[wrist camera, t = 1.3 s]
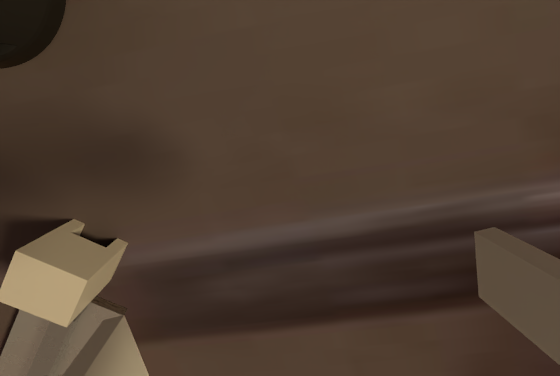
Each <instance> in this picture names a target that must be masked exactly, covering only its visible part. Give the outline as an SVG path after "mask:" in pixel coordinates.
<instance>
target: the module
mask: <svg viewBox="0 0 560 376" xmlns="http://www.w3.org/2000/svg"><path fill="white" fill-rule="evenodd" d="M84 225H85V224H84V223H82V222H80V221H77V220H75V219H73V220H71V221H69V222H67V223H65V224H64V225H62V226H60V227H58V228H56V229H54V230H53V231H51V232H49V233H47V234H45V235H43V236H41V237H40V238H38V239H36V240H34V241H32V242H30V243H29V244H27V245H25V246H23V247H21V248H19V249H17V250H16V251H15V253H14V256H13V258H12V261H11V263H10V266H9V268H8V271H7V273H6V276H5V279H4V281H3V284H2V286H1V289H0V302H2V303H5V304H7V305H10V306H12V307H15V308H18V309H20V310H23V311H25V312H28V313H30V314H33V315H36V316H38V317H41V318H43V319H46V320H48V321H51V322H54V323H56V324H59V325H61V326H64V327H66V328H67V327H68V325H69V324H70V323H71V322H72V321H73V320H74V319H75V318H76V317H77V316H78V315H79V314H80V313H81V311H82V310H83V309H84V308H85V307H86V306H87V305H88V304H89V303H90V302H91V301H92V300H93V299H94V298H95V296H96V295H97V294H98V293H99V292H100V291H101V290H102V289H103V288H104V287H105V286H106V285H107V284H108V282H109V281H110V280H111V278H112V276H113V274H114V272H115V270H116V267H117V265H118V263H119V261H120V259H121V257H122V255H123V252H124V250H125V248H126V246H127V244H128V243H127V242H125V241H122V240H120V239H118V238H117V239H116V240H115V241H113V242H112V243H111V244H110V245H109V246H107V247H103V246H101V245H99V244H96V243H94V242H92V241H90V240H87V239H85V238H83V237H80V234H81V232H82V229H83V227H84Z"/></svg>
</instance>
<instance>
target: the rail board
mask: <svg viewBox="0 0 560 376" xmlns="http://www.w3.org/2000/svg"><path fill="white" fill-rule="evenodd" d="M126 311H127V308H124V307H122V306H119V305H117V304H115V303H112V302H110V301H107V300H105V299H102V298H100V297H97V296H95V298H94V299H93V300H92V301H91V302H90V303H89V304H88V305H87V306H86V307H85V308H84V309H83V310H82V311H81V313H80V314H79V315H78V316H77V317H76V318H75V319H74V320H73V321H72V322H71V323H70V324H69V325H68V327H67V328H66V327H64V326H61V325H59V324H56V323H54V322H51V321H48V320H46V319H43V318H41V317H38V316H36V315H33V314H30V313H28V312H25V311H23V310H19V312H18V315H17V317H16V320H15V322H14V324H13V327H12V329H11V332H10V334H9V337H8V339H7V342H6V344H5V346H4V349H3V351H2V354H1V356H0V376H62V375H63V374H64V372H65V371H66V370H67V368H68V367H69V366H70V364H71V363H72V362H73V360H74V359H75V358H76V356H77V355H78V354H79V352H80V351H81V350H82V348H83V347H84V346H85V344H86V343H87V342H88V340H89V339H90V337H91V336H92V335H93V333H94V332H95V331H96V329H97V328H98V327H99V325H100V324H101V323H102V321H103V320H105V319H110V318H114V317H118V316H122V315H125V313H126Z"/></svg>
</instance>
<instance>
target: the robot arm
mask: <svg viewBox="0 0 560 376" xmlns="http://www.w3.org/2000/svg"><path fill="white" fill-rule="evenodd" d="M65 5H66V0H0V68H6V67H12V66H16V65H19V64H22V63H24V62H27V61H29V60H30V59H32V58H34V57H35V56H37V55H38V54H39V53H41V52H42V51H43V50H44V49H45V48H46V47H47V46H48V45H49V44H50V42H51V41H52V40H53V38H54V37H55V35H56V33H57V31H58V29H59V27H60V25H61V22H62V19H63V15H64V11H65ZM474 234H475V248H476V263H477V277H478V291H479V297H480V298H481V299H482V300H484V301H485V302H486V303H487V304H488V305H490V306H491V307H492V308H493V309H494V310H495V311H497V312H498V313H499V314H500V315H501V316H503V317H504V318H505V319H506V320H507V321H508V322H510V323H511V324H512V325H513V326H514V327H515V328H517V329H518V330H519V331H520V332H521V333H523V334H524V335H525V336H526V337H527V338H528V339H530V340H531V341H532V342H533V343H534V344H536V345H537V346H538V347H539V348H540V349H541V350H543V351H544V352H545V353H546V354H547V355H548V356H550V357H551V358H552V359H553V360H554V361H556V362H557V363H558V364H559V365H560V259H558V258H556V257H554V256H552V255H549V254H547V253H545V252H543V251H541V250H539V249H537V248H535V247H533V246H531V245H529V244H527V243H525V242H523V241H521V240H519V239H517V238H515V237H513V236H511V235H509V234H507V233H505V232H503V231H501V230H499V229H497V228H495V227H493V228H489V229H485V230H481V231H477V232H474ZM62 376H149V374H148V372H147V370H146V367H145V365H144V362H143V360H142V357H141V355H140V352H139V350H138V348H137V345H136V343H135V340H134V338H133V335H132V333H131V331H130V328H129V326H128V323H127V321H126V318H125V316H124V315H122V316H118V317H114V318H110V319H105V320H103V321H102V323H101V324H100V325H99V327H98V328H97V329H96V331H95V332H94V333H93V335H92V336H91V337H90V339H89V340H88V342H87V343H86V344H85V346H84V347H83V348H82V350H81V351H80V352H79V354H78V355H77V356H76V358H75V359H74V360H73V362H72V363H71V364H70V366H69V367H68V368H67V370H66V371H65V372H64V374H63V375H62Z"/></svg>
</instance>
